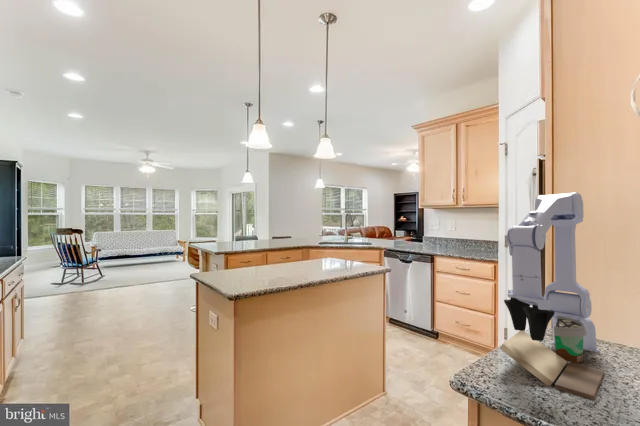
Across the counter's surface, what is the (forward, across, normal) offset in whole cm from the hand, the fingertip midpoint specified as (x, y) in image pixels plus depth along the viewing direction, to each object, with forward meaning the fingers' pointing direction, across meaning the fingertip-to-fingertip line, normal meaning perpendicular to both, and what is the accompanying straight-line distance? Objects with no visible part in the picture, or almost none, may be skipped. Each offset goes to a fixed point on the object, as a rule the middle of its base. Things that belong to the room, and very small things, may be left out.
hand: (528, 334), depth 72 cm
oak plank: (+6, -4, +3) cm, 8 cm away
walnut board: (+10, +2, +10) cm, 14 cm away
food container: (+9, -10, +15) cm, 20 cm away
